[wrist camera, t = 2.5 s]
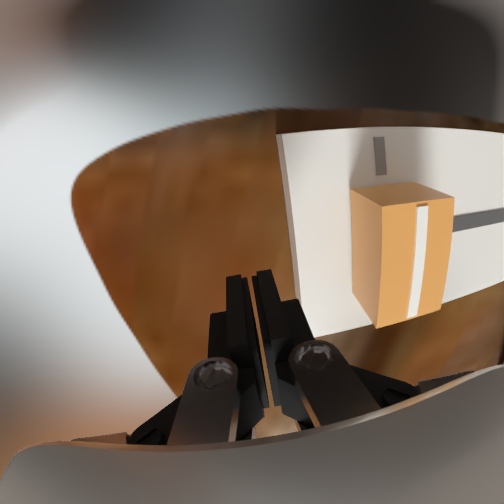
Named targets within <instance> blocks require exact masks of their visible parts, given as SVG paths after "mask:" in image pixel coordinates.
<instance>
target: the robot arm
mask: <svg viewBox="0 0 504 504" xmlns="http://www.w3.org/2000/svg"><path fill="white" fill-rule="evenodd" d="M252 282H253V288H254V294H255V300H256V306H257V311H258V317H259V323H260V329H261V335H262V340H263V346H264V351H265V357H266V362H267V368H268V373H269V379H270V384H271V390H272V395H273V400H274V406H280V405H281V408H282V413H283V414H285V415H287V416H289V417H291V418H293V419H295V423H296V427H297V429H298V432H293V433H288V434H282V435H277V436H271V437H264V438H258V439H255V433H256V432H255V425H256V424H257V423H258V422H259V421H260V420H261V419H262V418H263V417H264V410H263V408H268V407H269V401H268V395H267V389H266V383H265V376H264V370H263V364H262V358H261V351H260V345H259V339H258V333H257V328H256V323H255V317H254V312H253V307H252V302H251V296H250V291H249V286H248V280H247V277H245V278H241V274H240V275H235V276H229V277H226V311H224V312H218V313H212V314H211V315H210V327H209V343H208V359H205V360H202V361H200V362H199V363H197V364H196V365H195V366H194V367H193V368H192V369H191V370H190V372H189V374H188V377H187V380H186V383H185V387H184V390H183V393H182V395H181V396H179V397H178V398H177V399H175V400H174V401H173V402H172V403H170V404H169V405H168V406H166V407H165V408H164V409H162V410H161V411H160V412H158V413H157V414H156V415H154V416H153V417H152V418H150V419H149V420H148V421H146V422H145V423H143V424H142V425H141V426H139V427H138V428H137V429H136V430H135V431H134V432H133V433H132V434H130V435H128V434H127V433H126V432H122V433H116V434H109V435H103V436H94V437H85V438H77V439H74V440H71V441H51V442H43V443H38V444H33V445H30V446H27V447H25V448H22V449H21V450H19V451H18V452H17V453H16V454H15V455H14V456H13V458H12V459H11V461H10V462H9V464H8V466H7V468H6V470H5V472H4V474H3V477H2V479H1V482H0V504H504V364H502V365H495V366H492V367H488V368H484V369H481V370H478V371H466V372H462V373H458V374H453V375H449V376H444V377H440V378H435V379H430V380H425V381H419V382H418V383H417V385H416V386H412V385H411V384H408V383H406V382H404V381H400V380H397V379H393V378H390V377H386V376H383V375H380V374H377V373H373V372H370V371H367V370H364V369H361V368H358V367H355V366H351V365H349V364H348V362H347V361H346V359H345V358H344V357H343V355H342V354H341V353H340V351H339V350H338V349H337V348H336V347H335V346H334V345H333V344H331V343H329V342H327V341H322V340H315V339H314V336H313V334H312V331H311V329H310V326H309V324H308V321H307V319H306V316H305V314H304V312H303V309H302V307H301V304H300V302H299V300H298V299H292V300H287V301H282V302H281V300H280V297H279V294H278V290H277V287H276V284H275V281H274V278H273V274H272V271H271V269H269V270H263V271H257V276H252Z"/></svg>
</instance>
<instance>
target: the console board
mask: <svg viewBox="0 0 504 504" xmlns="http://www.w3.org/2000/svg"><path fill="white" fill-rule="evenodd" d="M276 139H277V145H278V152H279V159H280V166H281V173H282V181H283V188H284V196H285V203H286V211H287V220H288V228H289V236H290V245H291V254H292V263H293V273H294V283H295V293H296V299H298V300H299V302H300V304H301V307H302V309H303V312H304V314H305V316H306V319H307V321H308V324H309V326H310V329H311V331H312V334H313V336H314V337H319V336H324V335H328V334H333V333H337V332H342V331H346V330H350V329H354V328H358V327H362V326H366V325H370V324H373V323H372V321H371V320H370V318H369V317H368V315H367V314H366V312H365V311H364V309H363V308H362V306H361V305H360V303H359V302H358V300H357V299H356V297H355V296H354V294H353V293H352V281H353V259H352V220H351V200H350V189H353V188H362V187H371V186H380V185H389V184H399V183H409V182H416V183H419V184H421V185H424V186H427V187H430V188H432V189H435V190H437V191H440V192H443V193H445V194H448V195H450V196H453V197H455V199H454V217H453V230H452V240H451V249H450V257H449V264H448V271H447V277H446V283H445V289H444V294H443V299H442V303H445V302H448V301H451V300H454V299H457V298H460V297H462V296H465V295H468V294H471V293H473V292H476V291H479V290H481V289H484V288H487V287H489V286H492V285H494V284H497V283H499V282H502V281H504V133H499V132H491V131H482V130H471V129H458V128H442V127H406V126H394V127H357V128H339V129H325V130H313V131H303V132H293V133H285V134H276Z"/></svg>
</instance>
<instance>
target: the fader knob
mask: <svg viewBox="0 0 504 504" xmlns="http://www.w3.org/2000/svg"><path fill="white" fill-rule="evenodd" d="M454 199H455V197H453V196H450V195H448V194H445V193H443V192H440V191H437V190H435V189H432V188H430V187H427V186H424V185H421V184H419V183H416V182H409V183H399V184H389V185H380V186H371V187H362V188H353V189H350V200H351V220H352V259H353V281H352V293H353V294H354V296H355V297H356V299H357V300H358V302H359V303H360V305H361V306H362V308H363V309H364V311H365V312H366V314H367V315H368V317H369V318H370V320H371V321H372V323H373V325H374V326H375V328H376V329H377V328H381V327H385V326H388V325H392V324H395V323H399V322H402V321H406V320H409V319H412V318H415V317H419V316H422V315H425V314H428V313H431V312H434V311H437V310H440V308H441V304H442V299H443V294H444V289H445V283H446V277H447V271H448V264H449V257H450V249H451V240H452V230H453V217H454Z"/></svg>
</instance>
